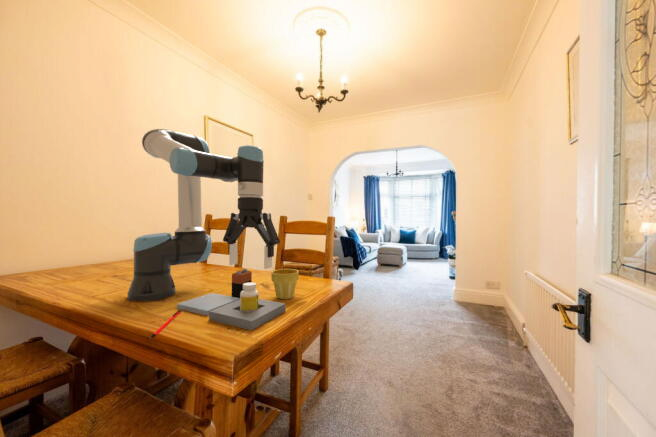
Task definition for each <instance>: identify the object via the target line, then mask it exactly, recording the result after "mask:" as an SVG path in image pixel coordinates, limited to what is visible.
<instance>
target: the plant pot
mask: <svg viewBox="0 0 656 437" xmlns="http://www.w3.org/2000/svg"><path fill="white" fill-rule="evenodd" d="M299 273H300V272H299V270H298V269H294V268H280V269H275V270H272V271H271V273H270V274H271V282H273V287H274V292H275V296H276V298H277V299H280V300H289V299H292V298H294V297H295V292H296V287H297V281H299V279H300V278H299V275H300V274H299Z"/></svg>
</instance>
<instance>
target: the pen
mask: <svg viewBox="0 0 656 437" xmlns="http://www.w3.org/2000/svg"><path fill="white" fill-rule="evenodd" d="M181 312H182V310H181V309H179V310H177V311H176V312H175V313H174V314H173V315H172V316H171V317H170V318H168V320H167V321H166V322H164V323H163V325H161V326H160V327H159V328H158V329H157V330H156V331H154V333H152V334H151V336H150V340H151V339H153V338H155V337H156V336H157V335H159V334H160V333H161V332H162V331H163V330H164V329H165V328H166V327H167V326H168V325H169V324H170V323H171V322H172V321H174V320H175V318H177V317H179V315H180V314H181Z"/></svg>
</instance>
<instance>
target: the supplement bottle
mask: <svg viewBox="0 0 656 437" xmlns="http://www.w3.org/2000/svg"><path fill="white" fill-rule="evenodd" d="M243 289H244V290H243V291H242V292H241V293H240V311H244V312H248V313H251V312H253V311H255V310H257V309H258V299H259V290H257V283H256V282H249V283H244V284H243Z"/></svg>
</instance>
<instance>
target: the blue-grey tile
mask: <svg viewBox="0 0 656 437" xmlns="http://www.w3.org/2000/svg"><path fill="white" fill-rule="evenodd" d="M237 300H240V298H237V297H232V295H231V296H230V295H226V294H225V295H224V294H220V293H215V292H210V293H207V294H204V295H202V296H197V297H195V298H192V299H187V300H186V301H182V302H179V303H177V304H176V309H177V310H181V311H182V310H183V311H187V312H190V313H193V314H194V313H195V314H200V315H203V316H208V317H209V311H211V310H214V309H217V308H219V307H222V306H224V305H227V304H229V303H232V302H235V301H237Z"/></svg>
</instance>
